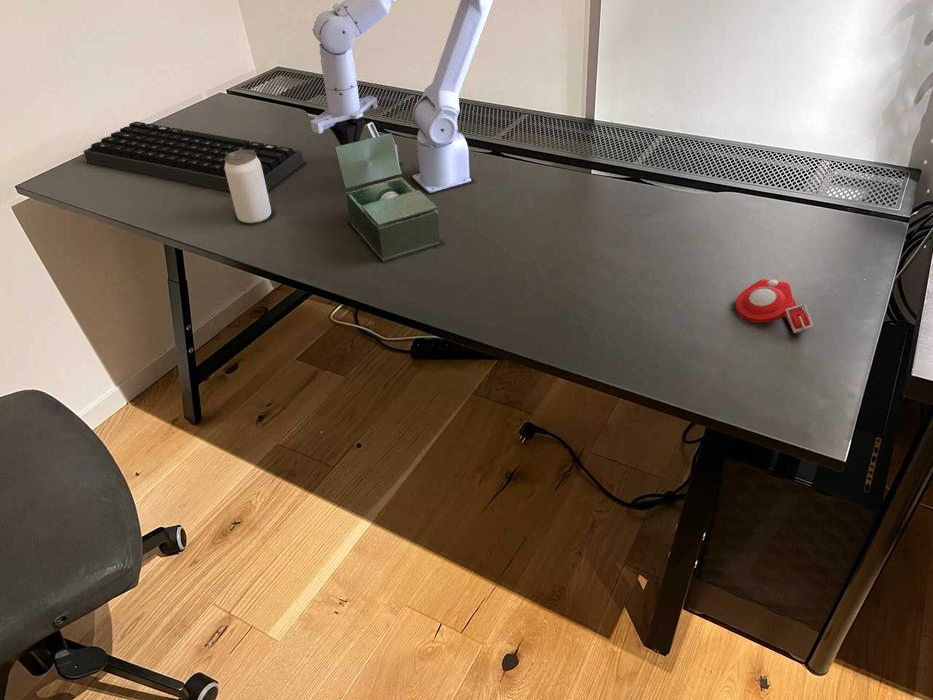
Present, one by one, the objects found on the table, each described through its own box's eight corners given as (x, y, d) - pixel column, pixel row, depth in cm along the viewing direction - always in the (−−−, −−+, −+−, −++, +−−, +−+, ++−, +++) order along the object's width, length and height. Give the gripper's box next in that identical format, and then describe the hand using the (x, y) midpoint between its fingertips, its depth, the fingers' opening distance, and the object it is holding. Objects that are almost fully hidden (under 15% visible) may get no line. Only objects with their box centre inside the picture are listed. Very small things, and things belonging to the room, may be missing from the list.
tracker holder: (724, 311, 115) (749, 267, 119) (728, 331, 117) (753, 288, 122) (808, 324, 107) (831, 277, 111) (811, 346, 110) (833, 298, 114)
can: (263, 225, 141) (249, 165, 134) (231, 223, 143) (215, 163, 135) (277, 208, 146) (264, 149, 139) (245, 206, 147) (231, 147, 140)
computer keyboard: (303, 163, 161) (300, 146, 159) (258, 197, 150) (254, 179, 148) (139, 133, 176) (134, 117, 174) (87, 162, 165) (81, 146, 163)
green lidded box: (350, 223, 141) (345, 188, 136) (404, 208, 145) (401, 173, 140) (382, 261, 130) (378, 224, 126) (440, 244, 134) (437, 207, 130)
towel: (376, 196, 139) (380, 217, 142) (389, 208, 135) (393, 230, 138) (398, 187, 140) (402, 209, 143) (411, 200, 136) (415, 221, 139)
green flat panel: (345, 188, 136) (345, 188, 136) (401, 173, 140) (400, 173, 140) (335, 147, 133) (334, 147, 134) (391, 133, 137) (391, 133, 138)
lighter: (399, 163, 159) (395, 127, 154) (394, 167, 158) (390, 130, 153) (372, 156, 162) (367, 120, 157) (367, 159, 161) (362, 123, 156)
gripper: (325, 102, 128) (336, 176, 137) (386, 77, 137) (393, 148, 145) (298, 93, 132) (310, 166, 141) (358, 69, 140) (367, 139, 149)
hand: (351, 156), depth 143 cm, fingers closed
